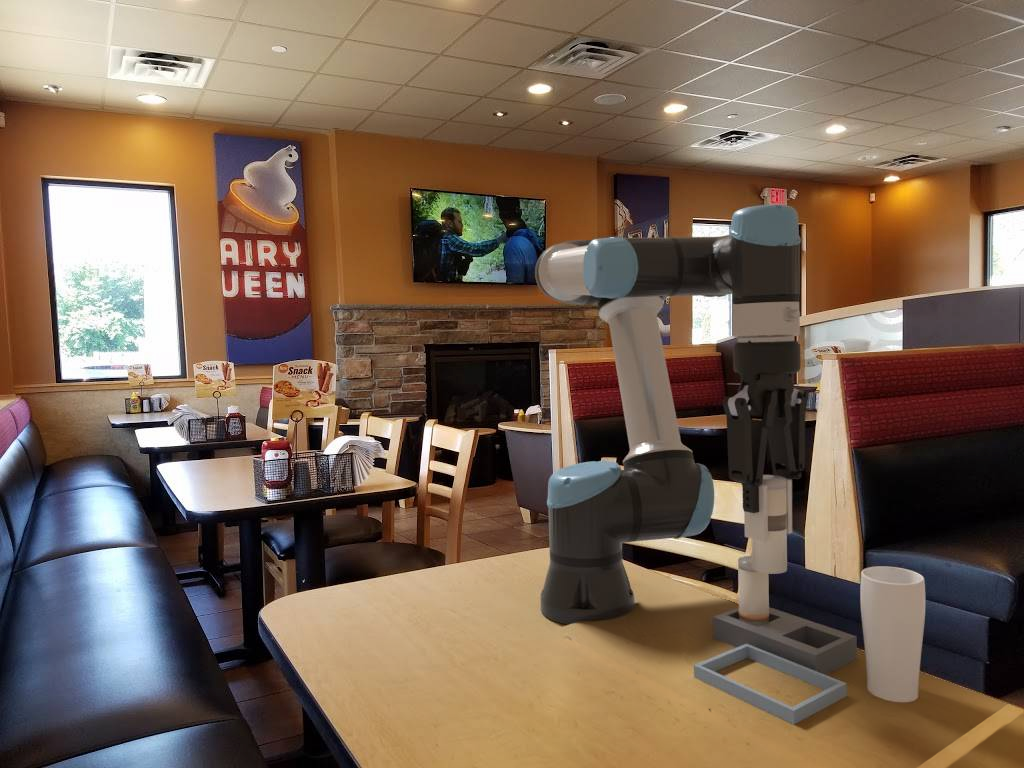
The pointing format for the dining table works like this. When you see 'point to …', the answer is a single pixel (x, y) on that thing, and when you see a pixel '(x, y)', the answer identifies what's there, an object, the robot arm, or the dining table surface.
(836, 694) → the parts tray
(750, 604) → the fuse
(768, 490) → the cylinder
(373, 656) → the dining table surface
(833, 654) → the fuse block
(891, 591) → the drinking glass
